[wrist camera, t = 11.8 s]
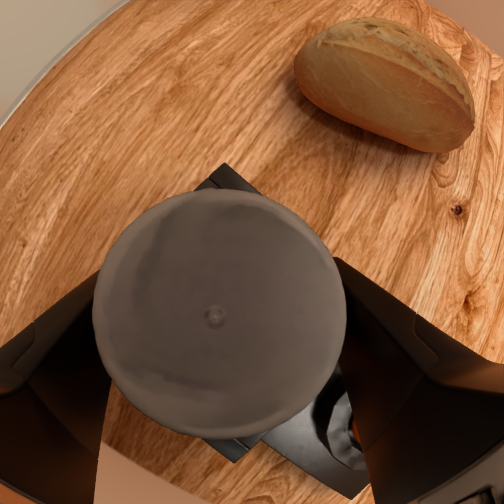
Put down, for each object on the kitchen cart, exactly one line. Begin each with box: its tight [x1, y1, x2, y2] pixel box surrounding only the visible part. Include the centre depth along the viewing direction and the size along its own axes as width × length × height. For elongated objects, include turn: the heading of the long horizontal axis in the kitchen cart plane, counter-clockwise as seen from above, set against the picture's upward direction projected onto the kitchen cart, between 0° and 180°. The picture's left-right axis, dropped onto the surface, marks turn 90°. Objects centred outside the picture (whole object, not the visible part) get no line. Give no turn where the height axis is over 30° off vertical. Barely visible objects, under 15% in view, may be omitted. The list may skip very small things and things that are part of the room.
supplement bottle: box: [92, 188, 347, 440], centre depth 10 cm, size 6×6×11 cm
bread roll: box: [294, 17, 475, 153], centre depth 18 cm, size 10×15×8 cm, turn 75°
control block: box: [261, 361, 370, 500], centre depth 16 cm, size 10×8×4 cm
